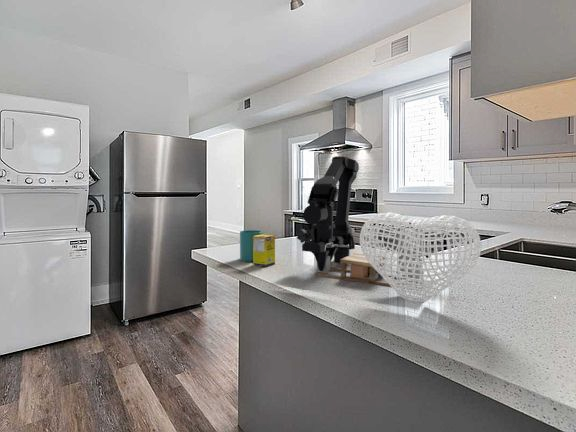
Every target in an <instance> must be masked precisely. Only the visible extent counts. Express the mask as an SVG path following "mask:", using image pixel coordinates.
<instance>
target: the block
mask: <svg viewBox="0 0 576 432" xmlns="http://www.w3.org/2000/svg"><path fill="white" fill-rule="evenodd" d="M367 276H369V275H368V266H363V265H355V264H350V277H355V278H362V279H364V278H366V277H367Z"/></svg>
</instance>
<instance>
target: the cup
mask: <svg viewBox="0 0 576 432" xmlns="http://www.w3.org/2000/svg"><path fill="white" fill-rule="evenodd" d="M261 234H264V231H262V230H258V229H255V230H254V229H250V230H249V229H248V230H241V231H239V259H240V260H241V261H242V262H248V261H253V236H256V235H261Z"/></svg>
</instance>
